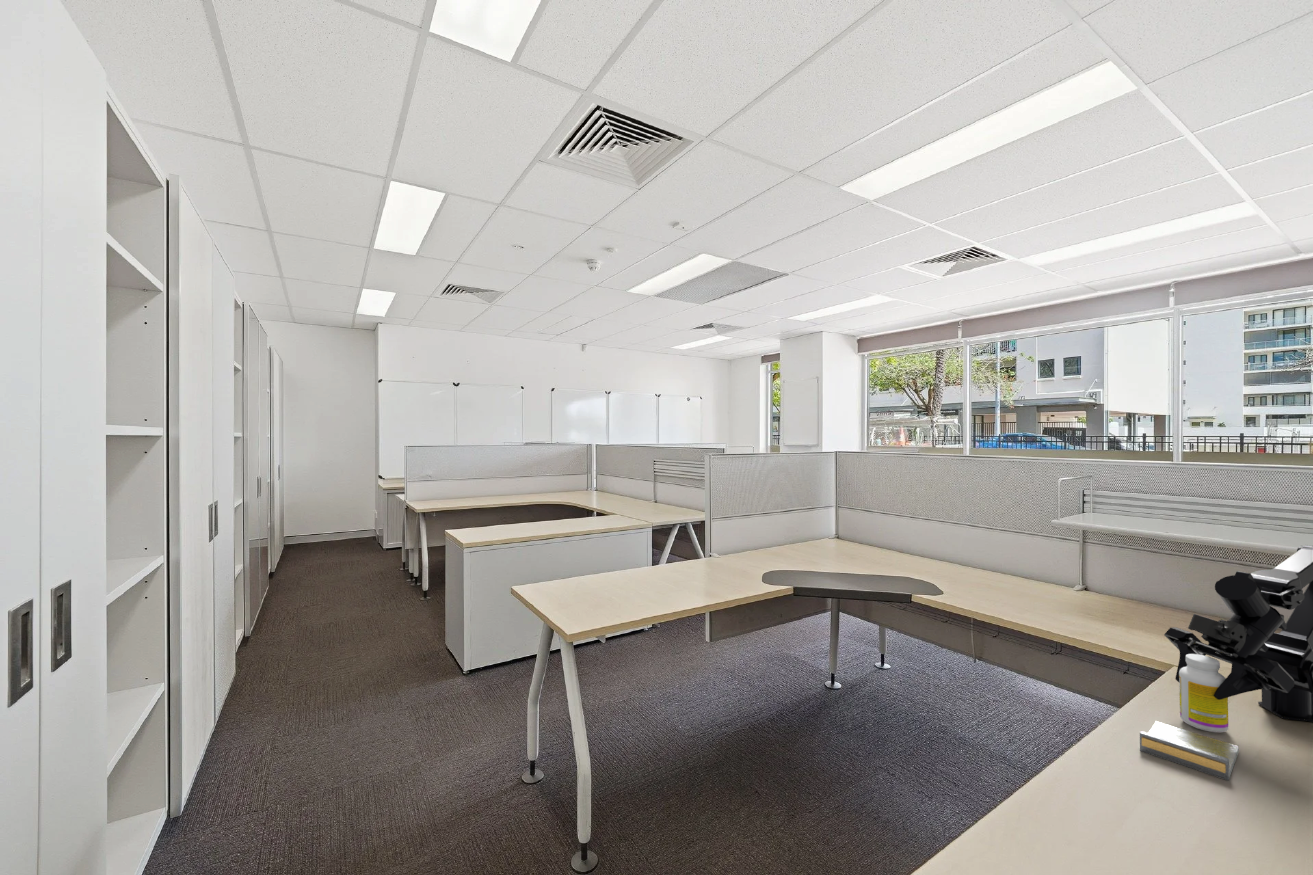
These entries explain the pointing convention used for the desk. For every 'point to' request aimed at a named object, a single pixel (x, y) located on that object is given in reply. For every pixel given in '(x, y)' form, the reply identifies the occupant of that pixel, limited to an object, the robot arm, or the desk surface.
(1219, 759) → the grey metal slab
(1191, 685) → the supplement bottle
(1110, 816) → the desk surface
